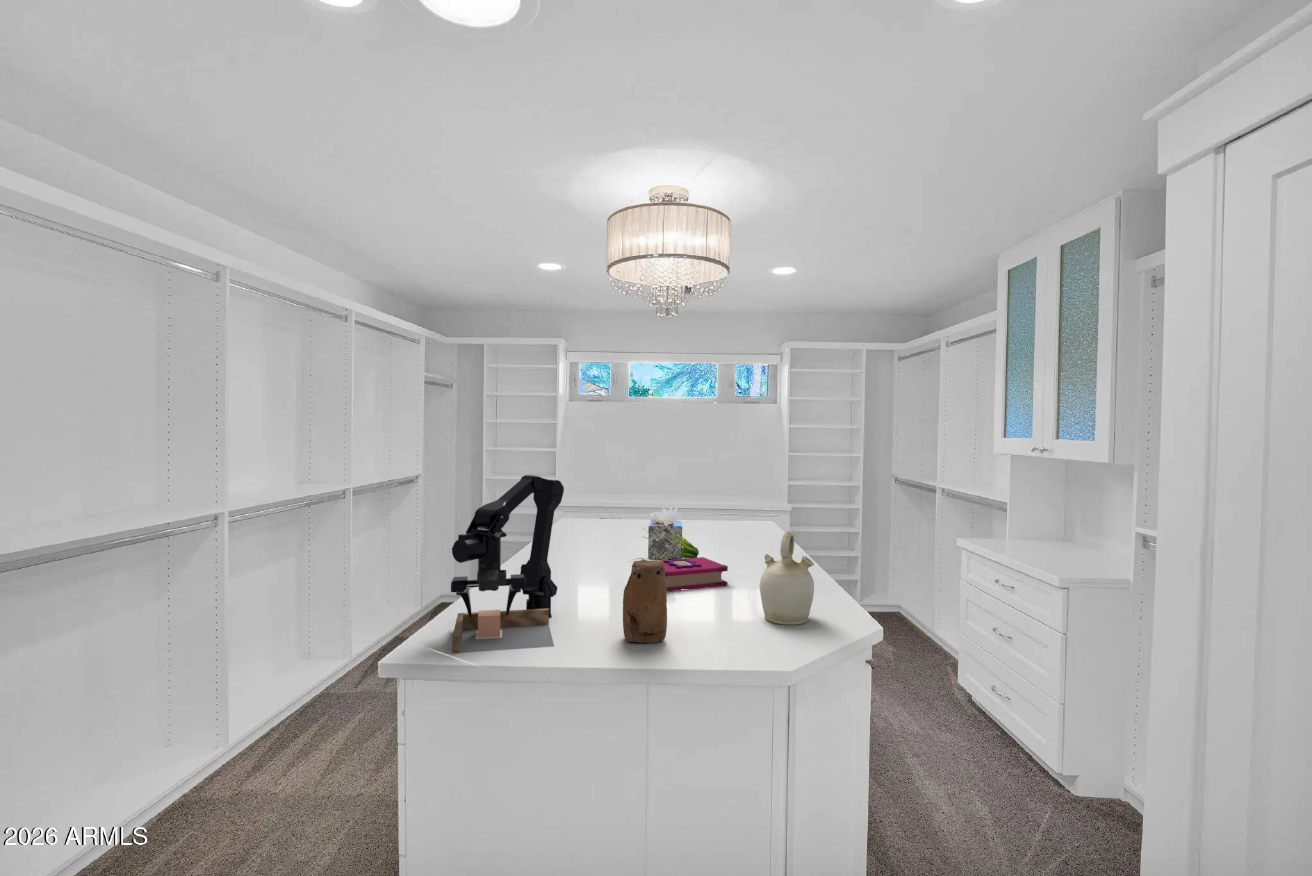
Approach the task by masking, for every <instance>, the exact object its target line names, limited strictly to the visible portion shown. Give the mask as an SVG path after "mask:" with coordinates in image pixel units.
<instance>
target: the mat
mask: <svg viewBox="0 0 1312 876" xmlns="http://www.w3.org/2000/svg"><path fill="white" fill-rule="evenodd" d="M550 647H555V644H554V639H553V637H552V631H551V627H550V623H549V624H547V625H530V626H513V627H500V637H488V638H478V629H464V630H463V634H462V639H461V644H460V649H459V653H458V654H461V653H462V654H463V653H475V652H477V653H479V652H480V653H481V652H492V651H494V652H495V651H507V650H519V649H520V650H521V649H538V648H550Z"/></svg>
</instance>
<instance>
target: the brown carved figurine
mask: <svg viewBox="0 0 1312 876" xmlns="http://www.w3.org/2000/svg"><path fill="white" fill-rule="evenodd" d="M665 572H666V569H665V567H664V565H663V563H662V562H660V561H659V560H657V559H654V560H648V559H645V560H642V559H639V560H633V563H632V565H631V573H630V575H629V577H628V580H627V583H626V584H625V586H624V589H623V594H622V597H623V598H622V627H623V636H624V639H625V640H626V642H628V643H636V642H637V643H639V644H642V643H658V642H662V641H664V640H665V638H666V636H667V630H668V608H667V607H668V605H667V601H668V599H667V598H668V594H667V593H668V592H667V588H666V577H665Z"/></svg>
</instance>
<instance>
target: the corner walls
mask: <svg viewBox="0 0 1312 876" xmlns="http://www.w3.org/2000/svg"><path fill="white" fill-rule="evenodd" d="M478 613H479V611H476V612H471V617H469V614H468V612H460V613H459V612H458V613H457V617H456V619H455V620H456V621H455V624H454V628H453V631H452V637H451V641H452V643H451V645H452V646H451V647H452V648H451V650H452V654H460V653H459V649H460V644H461V639H462V634H463V630H464V629H478ZM547 624H549V625H550V618H549V608H546V609H528V610H526V609H514V610H513V609H512V610H511V609H510V610H509V613H508V615H506V610H500V627H513V626H530V625H547Z"/></svg>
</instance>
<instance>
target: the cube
mask: <svg viewBox="0 0 1312 876" xmlns="http://www.w3.org/2000/svg"><path fill="white" fill-rule="evenodd" d="M500 611H501V609H487V610H485V609H484V610H479V611H478V612H479V613H478V638H488V637H500Z"/></svg>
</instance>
